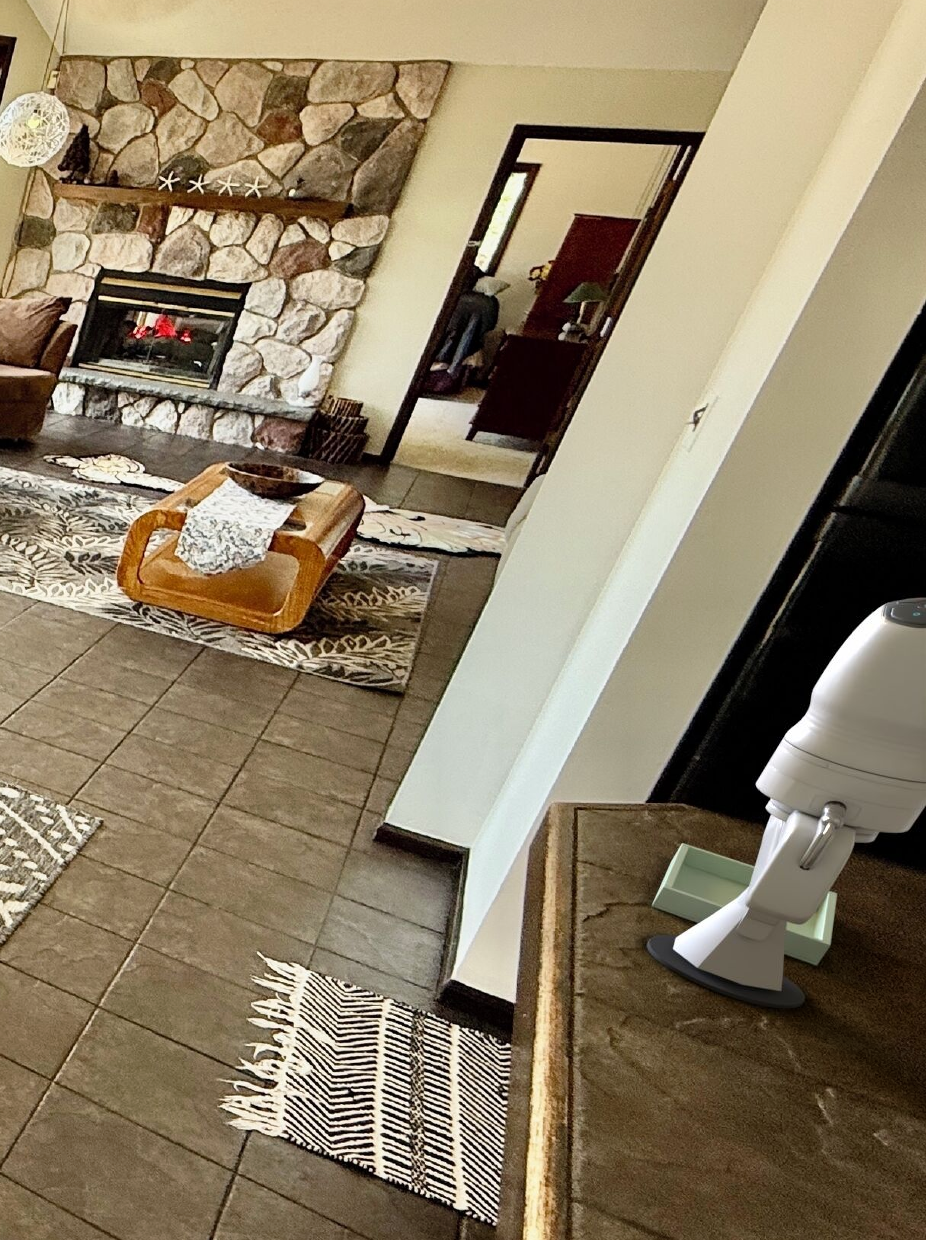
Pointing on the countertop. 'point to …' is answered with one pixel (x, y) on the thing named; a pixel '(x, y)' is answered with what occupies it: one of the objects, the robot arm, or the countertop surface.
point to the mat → (761, 996)
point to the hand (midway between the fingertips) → (751, 926)
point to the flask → (735, 948)
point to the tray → (716, 881)
